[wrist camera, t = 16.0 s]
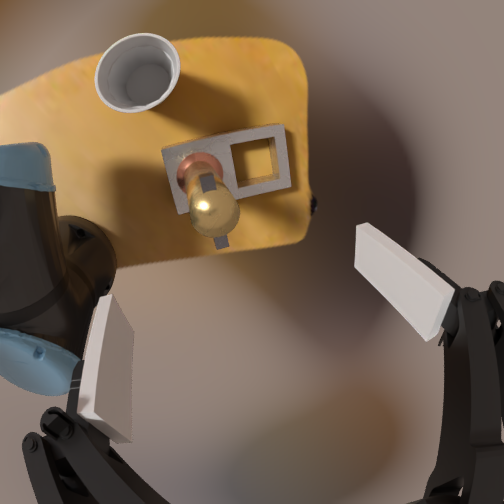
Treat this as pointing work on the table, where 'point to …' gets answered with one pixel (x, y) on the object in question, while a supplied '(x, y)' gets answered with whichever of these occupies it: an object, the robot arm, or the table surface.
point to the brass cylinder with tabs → (210, 203)
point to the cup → (137, 73)
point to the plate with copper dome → (227, 162)
